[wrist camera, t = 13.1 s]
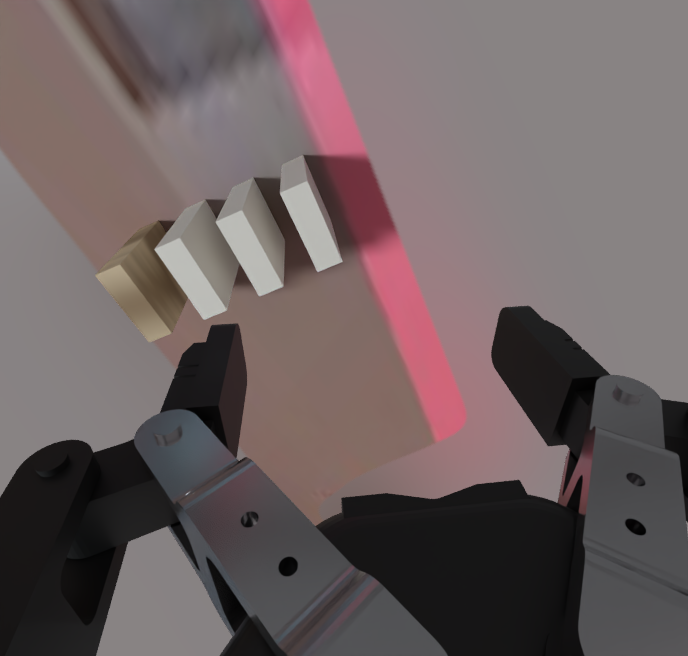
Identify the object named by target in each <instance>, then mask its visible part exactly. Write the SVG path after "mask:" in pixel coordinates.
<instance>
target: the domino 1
mask: <svg viewBox="0 0 688 656" xmlns="http://www.w3.org/2000/svg"><path fill="white" fill-rule="evenodd" d="M165 235H166V231H165V230H164V228H163V227H162V225H161V224H160V222H159V221H156V222H154V223H152V224H150V225H147V226H145V227H143V228H141V229H139V230H138V231H137V232H136V233H135V234H134V235H133V236H132V237H131V238H130V239H129V240H128V241H127V242H126V243H125V244H124V246H123V247H122V248H121V249H120V250H119V251H118V252H117V253H116V254H115V255H114V256H113V257H112V258H111V259H110V260H109V261H108V262H107V263H106V264H105V265H104V266H103V267H102V268H101V270H100V271H99V272H98V273H97V274H96V275H95V276H96V277H97V279H98V280H99V281H100V282H101V283H102V285H103V286H104V287H105V288H106V290H107V291H108V292H109V293H110V295H111V296H112V297H113V298H114V299H115V301H116V302H117V303H118V304H119V306H120V307H121V308H122V309H123V311H124V312H125V313H126V314H127V316H128V317H129V318H130V319H131V320H132V322H133V323H134V324H135V325H136V327H137V328H138V329H139V330H140V332H141V333H142V334H143V335H144V337H145V338H146V339H147V340H148V342H152V341H154V340H157V339H159V338H161V337H164V336H166V335H169V334H171V333H172V332H173V330H174V328H175V325H176V323H177V321H178V319H179V316H180V314H181V312H182V310H183V308H184V305H185V303H186V301H187V299H188V297H187V295H186V294H185V292H184V291H183V289H182V288H181V287H180V285H179V284H178V282H177V281H176V280H175V278H174V277H173V275H172V274H171V272H170V271H169V270H168V268H167V267H166V265H165V264H164V262H163V261H162V260H161V258H160V257H159V255H158V254H157V253H156V251H155V250H154V249H155V248H156V246H157V245H158V244H159V242H160V241H161V240H162V238H163V237H164V236H165Z"/></svg>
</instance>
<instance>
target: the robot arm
mask: <svg viewBox="0 0 688 656" xmlns="http://www.w3.org/2000/svg"><path fill="white" fill-rule="evenodd" d="M491 353H492V354H491V356H492V362H493V365H494V368H495V369H496V371H497V372H498V374H499V375H500V377H501V378H502V380H503V381H504V382H505V384H506V385H507V387H508V388H509V390H510V391H511V393H512V394H513V396H514V397H515V399H516V400H517V401H518V403H519V404H520V406H521V407H522V409H523V410H524V412H525V413H526V414H527V416H528V418H529V419H530V420H531V422H532V423H533V425H534V426H535V428H536V429H537V431H538V432H539V434H540V435H541V436H542V438H543V439H544V441H545V442H546V444H547V445H548V446H556V445H567V446H568V447H569V451H568V454H567V456H566V460H565V466H564V471H563V476H562V482H561V487H560V492H559V498H558V503H556V502H554V501H551V500H548V499H545V498H541V497H537V496H532V495H527V493H526V491H525V489H524V487H523V486H522V484H521V482H520V481H519V480H514V481H504V482H494V483H485V484H476V485H474V486H471V487H468V488H466V489H463V490H461V491H458V492H455V493H452V494H450V495H447V496H444V497H441V498H438V499H426V498H419V497H411V496H404V495H395V494H388V493H385V494H375V495H365V496H355V497H345V498H342V513H339V514H337V515H334V516H332V517H330V518H328V519H327V520H324V521H323V522H321V523H320V524H318V525H317V526H315V525H314V524H313V523H312V522H311V521H310V520H309V519H308V518H307V517H306V516H305V515H304V514H303V513H302V512H301V511H300V510H299V509H298V508H297V507H296V506H295V504H294V503H293V502H292V501H291V500H290V499H289V498H288V497H287V496H286V495H285V494H284V493H283V492H282V491H281V490H280V489H279V488H278V487H277V486H276V485H275V483H274V482H273V481H272V480H271V479H270V478H269V477H268V476H267V475H266V474H265V473H264V472H263V471H262V470H261V469H260V468H259V467H258V466H257V465H256V464H255V463H254V462H253V461H252V460H251V459H249V458H247V457H245V458H243V459H242V460H240V461H238V460H237V459H236V457H237V451H238V444H239V437H240V430H241V423H242V416H243V409H244V402H245V395H246V388H247V370H246V363H245V357H244V351H243V345H242V339H241V333H240V328H239V325H238V324H221V325H212V326H211V328H210V331H209V334H208V337H207V341H206V342H202V343H194V344H193V345H192V346H190V347H189V348H188V349H187V350H186V351H185V352H184V353H183V354H182V357H181V360H180V362H179V365H178V368H177V370H176V373H175V375H174V379H173V381H172V383H171V386H170V388H169V391H168V394H167V396H166V398H165V401H164V404H163V406H162V409H161V412H160V413H159V414H157V415H155V416H153V417H151V418H150V419H148V420H147V421H145V422H144V423H143V424H142V425H141V426H140V427H139V429H138V430H137V432H136V434H135V437H134V439H133V440H131V441H128V442H126V443H123V444H120V445H117V446H114V447H110V448H107V449H104V450H101V451H97V452H94V453H93V451H92V449H91V447H90V446H89V445H88V444H87V443H85V442H83V441H79V440H66V441H61V442H57V443H54V444H51V445H49V446H46V447H44V448H42V449H41V450H39V451H37V452H35V453H34V454H33V455H31V456H30V457H29V458H28V459H26V460H25V461H24V462H23V463H22V464H21V466H20V467H19V468H18V469H17V471H16V473H15V474H14V476H13V477H12V479H11V481H10V482H9V484H8V486H7V487H6V489H5V491H4V492H3V494H2V495H1V497H0V656H96V653H97V650H98V646H99V643H100V639H101V636H102V632H103V629H104V625H105V622H106V618H107V615H108V611H109V608H110V604H111V600H112V596H113V593H114V590H115V586H116V583H117V579H118V576H119V571H120V569H121V565H122V562H123V558H124V554H125V551H126V547H127V544H128V541H131V540H133V539H136V538H139V537H141V536H143V535H146V534H148V533H151V532H154V531H156V530H159V529H161V528H164V527H166V526H167V527H168V528H169V530H170V531H171V533H172V534H173V536H174V538H175V539H176V541H177V542H178V544H179V546H180V547H181V549H182V551H183V552H184V554H185V555H186V557H187V558H188V560H189V562H190V563H191V565H192V567H193V568H194V569H195V571H196V573H197V575H198V576H199V578H200V579H201V581H202V583H203V584H204V587H205V588H206V590H207V592H208V594H209V597H210V598H211V601H212V603H213V604H214V606H215V608H216V610H217V612H218V613H219V615H220V617H221V618H222V620H223V622H224V624H225V625H226V627H227V629H228V630H229V632H230V633H231V635H232V638H231V640H230V641H229V643H228V644H227V646H226V647H225V649H224V650H223V652H222V653H221V655H220V656H688V534H687V524H686V521H687V522H688V403H685V402H677V401H670V400H663V399H661V398H660V397H659V395H658V394H657V393H656V392H655V391H654V390H653V389H652V388H650V387H649V386H647V385H646V384H644V383H642V382H640V381H638V380H635V379H632V378H629V377H625V376H619V375H610V374H609V373H608V372H607V371H606V370H605V369H604V368H603V367H602V366H601V365H600V364H599V363H598V362H596V361H595V360H594V359H593V358H592V357H591V356H590V355H589V354H588V353H587V352H586V351H585V350H582V349H581V346H580V345H578V344H577V343H576V342H575V341H573V339H572V338H571V337H570V336H569V335H568V334H567V333H566V332H565V331H564V330H563V329H561V328H560V327H558V326H556V325H554V324H552V323H550V322H548V321H547V320H543V319H542V318H541V317H540V316H539V315H538V314H537V313H536V312H535V311H534V310H533V309H532V308H531V307H530V306H518V307H505V308H503V309H502V310H501V311H500V314H499V318H498V323H497V328H496V332H495V337H494V341H493V346H492V352H491Z"/></svg>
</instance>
